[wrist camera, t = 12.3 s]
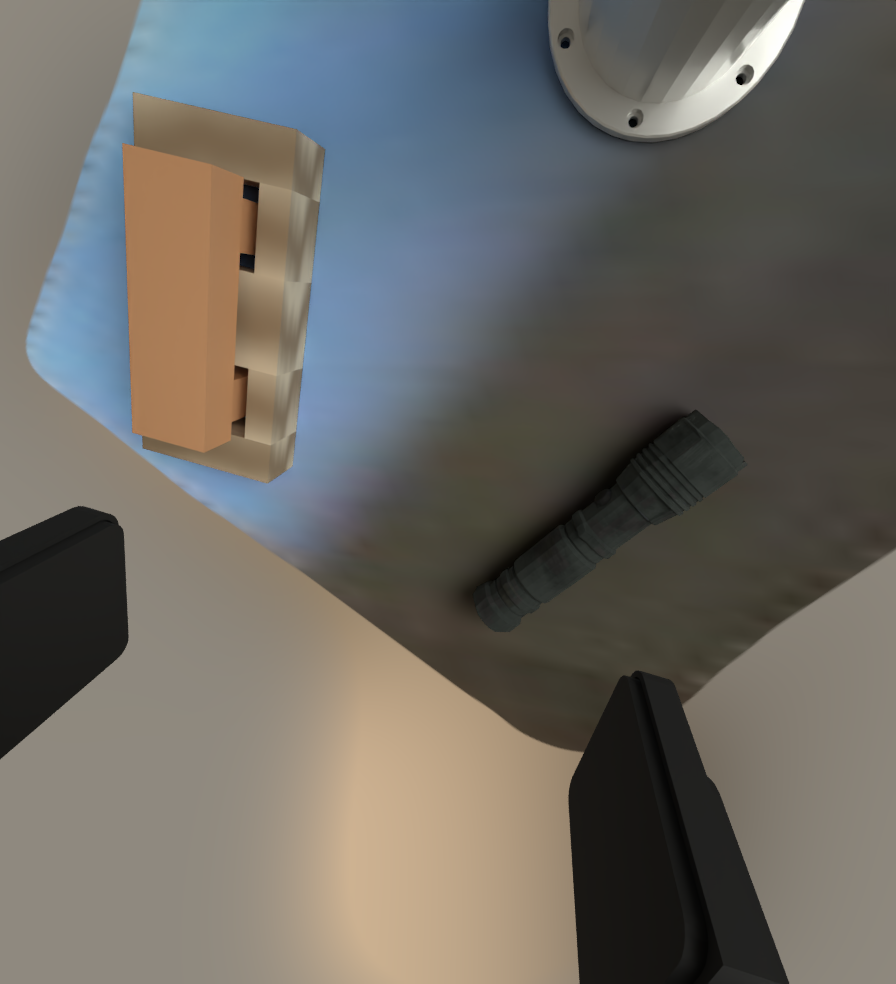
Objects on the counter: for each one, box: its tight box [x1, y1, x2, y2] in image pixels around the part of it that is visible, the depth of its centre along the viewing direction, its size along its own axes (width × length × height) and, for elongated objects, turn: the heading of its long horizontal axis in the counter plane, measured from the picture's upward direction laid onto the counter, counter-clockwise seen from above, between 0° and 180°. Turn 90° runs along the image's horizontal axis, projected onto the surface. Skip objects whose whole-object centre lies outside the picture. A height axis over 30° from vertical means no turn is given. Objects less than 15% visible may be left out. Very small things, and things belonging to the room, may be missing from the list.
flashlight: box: [473, 410, 748, 632], centre depth 35 cm, size 5×21×5 cm, turn 136°
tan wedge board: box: [122, 143, 258, 453], centre depth 32 cm, size 16×5×8 cm, turn 167°
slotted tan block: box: [133, 92, 325, 483], centre depth 34 cm, size 22×10×4 cm, turn 167°
